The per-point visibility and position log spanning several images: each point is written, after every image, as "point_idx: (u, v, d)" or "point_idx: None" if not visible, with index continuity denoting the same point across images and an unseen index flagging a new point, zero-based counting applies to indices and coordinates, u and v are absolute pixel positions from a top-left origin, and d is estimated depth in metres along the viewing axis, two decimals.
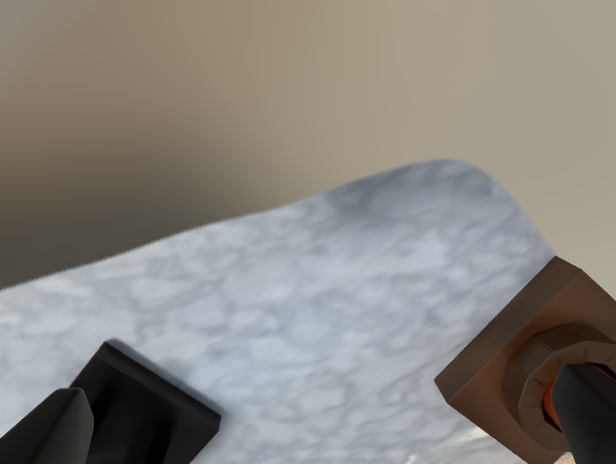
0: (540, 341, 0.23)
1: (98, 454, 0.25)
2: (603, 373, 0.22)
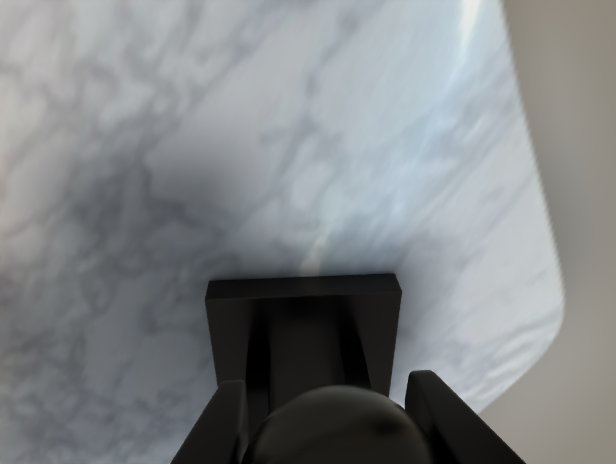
0: None
1: (314, 378, 0.20)
2: None
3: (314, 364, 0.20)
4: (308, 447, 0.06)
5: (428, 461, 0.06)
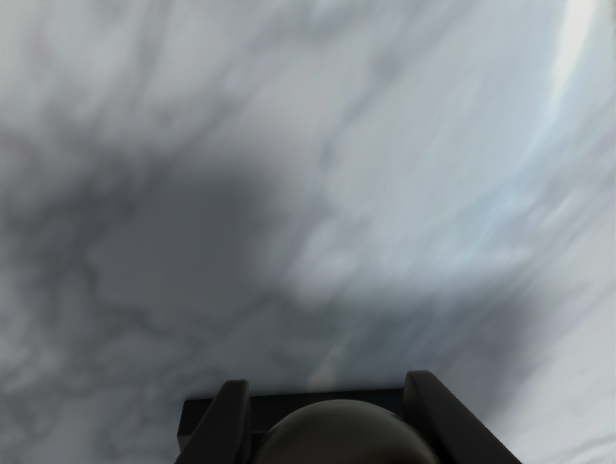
0: None
1: None
2: None
3: None
4: (305, 420, 0.06)
5: (425, 444, 0.06)
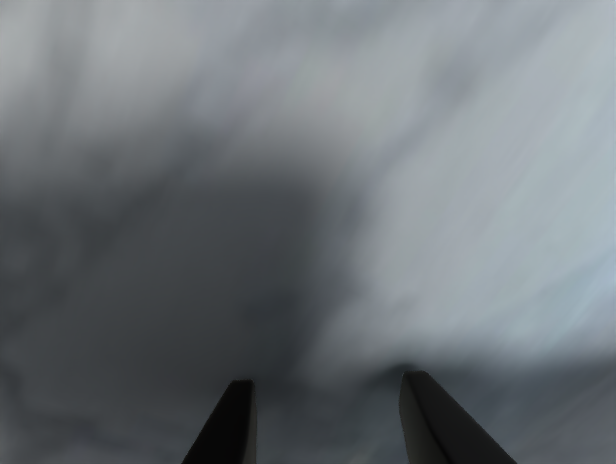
0: None
1: None
2: None
3: None
4: None
5: None
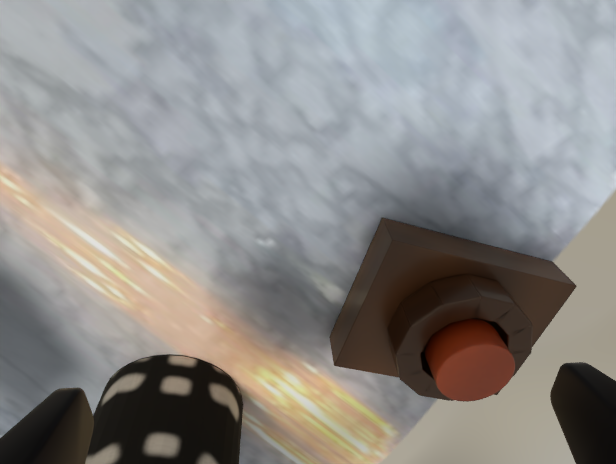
0: (503, 289, 0.21)
1: None
2: None
3: None
4: None
5: None
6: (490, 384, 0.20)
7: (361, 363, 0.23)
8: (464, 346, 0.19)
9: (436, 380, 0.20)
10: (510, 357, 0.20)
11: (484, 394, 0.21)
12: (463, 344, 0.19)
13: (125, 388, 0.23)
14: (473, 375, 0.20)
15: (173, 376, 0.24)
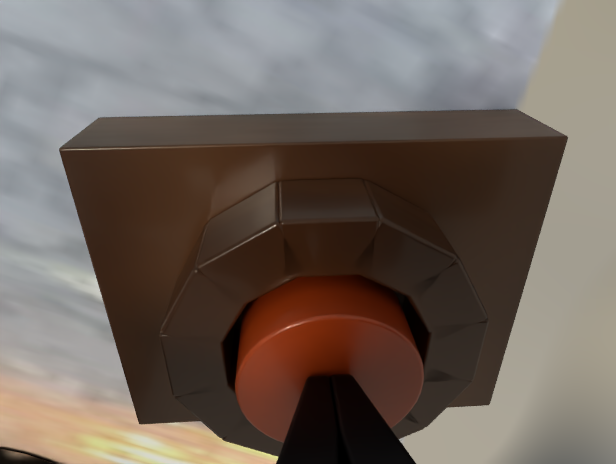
0: (368, 192, 0.09)
1: None
2: (408, 325, 0.09)
3: None
4: None
5: None
6: (381, 402, 0.09)
7: (186, 409, 0.12)
8: (262, 335, 0.08)
9: (250, 420, 0.09)
10: (391, 336, 0.08)
11: None
12: (263, 330, 0.08)
13: None
14: None
15: None
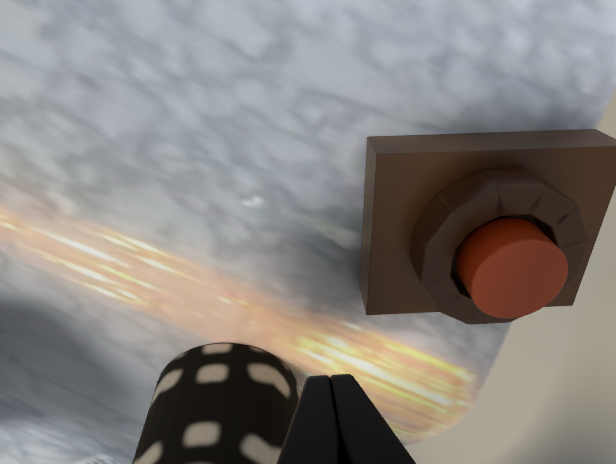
0: (530, 174, 0.17)
1: None
2: None
3: None
4: None
5: None
6: (543, 289, 0.17)
7: (396, 305, 0.21)
8: (492, 251, 0.16)
9: (473, 300, 0.17)
10: (555, 251, 0.16)
11: (540, 303, 0.17)
12: (491, 249, 0.16)
13: (165, 387, 0.23)
14: (516, 283, 0.16)
15: (209, 365, 0.23)
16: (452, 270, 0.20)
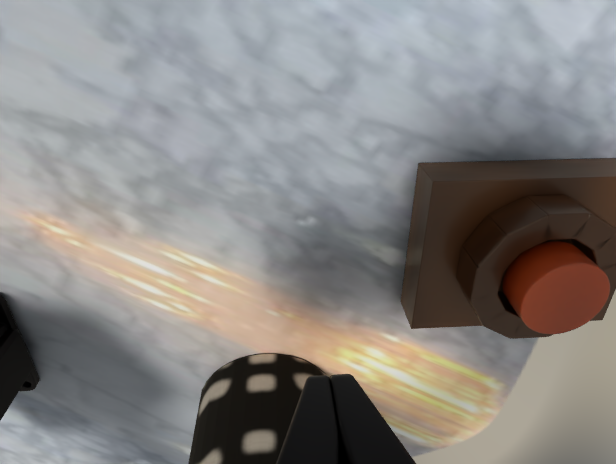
0: (573, 201, 0.18)
1: None
2: None
3: None
4: None
5: None
6: (586, 308, 0.18)
7: (439, 319, 0.22)
8: (543, 273, 0.17)
9: (522, 317, 0.18)
10: (600, 273, 0.17)
11: (582, 320, 0.18)
12: (541, 271, 0.17)
13: (215, 396, 0.24)
14: (562, 302, 0.18)
15: (257, 375, 0.24)
16: None
